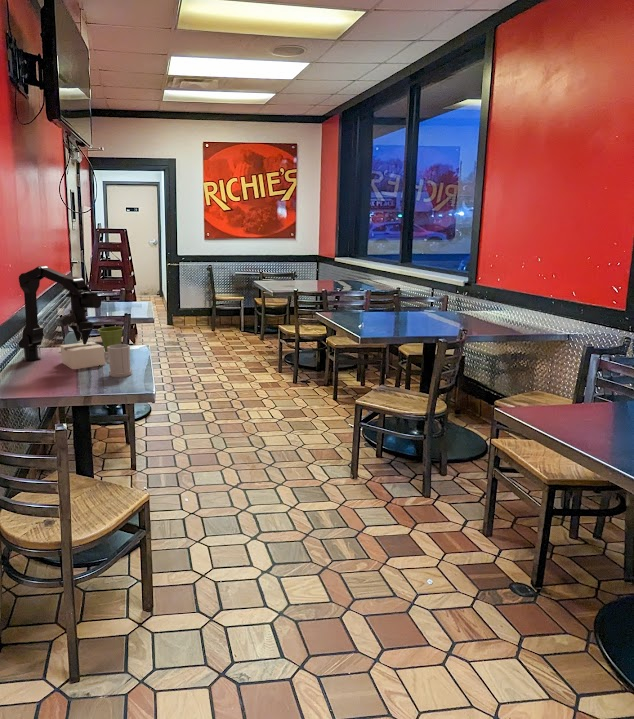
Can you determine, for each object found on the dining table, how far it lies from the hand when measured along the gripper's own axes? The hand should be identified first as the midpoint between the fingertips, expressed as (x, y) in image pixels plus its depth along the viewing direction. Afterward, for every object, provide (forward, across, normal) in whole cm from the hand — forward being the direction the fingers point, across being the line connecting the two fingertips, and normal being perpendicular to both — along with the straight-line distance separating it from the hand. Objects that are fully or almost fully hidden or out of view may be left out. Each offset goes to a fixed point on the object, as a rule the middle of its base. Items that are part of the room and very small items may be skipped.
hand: (81, 342), depth 281 cm
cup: (+10, +30, +5) cm, 32 cm away
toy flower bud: (+10, -35, +8) cm, 38 cm away
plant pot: (+10, -17, +19) cm, 27 cm away
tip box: (+10, 0, 0) cm, 10 cm away
